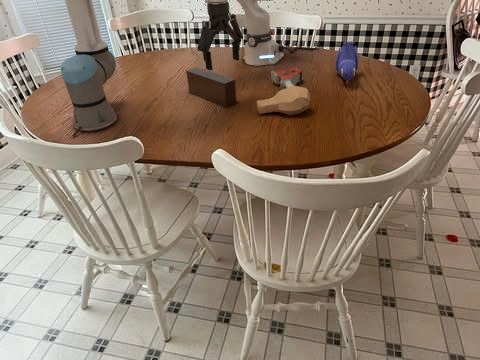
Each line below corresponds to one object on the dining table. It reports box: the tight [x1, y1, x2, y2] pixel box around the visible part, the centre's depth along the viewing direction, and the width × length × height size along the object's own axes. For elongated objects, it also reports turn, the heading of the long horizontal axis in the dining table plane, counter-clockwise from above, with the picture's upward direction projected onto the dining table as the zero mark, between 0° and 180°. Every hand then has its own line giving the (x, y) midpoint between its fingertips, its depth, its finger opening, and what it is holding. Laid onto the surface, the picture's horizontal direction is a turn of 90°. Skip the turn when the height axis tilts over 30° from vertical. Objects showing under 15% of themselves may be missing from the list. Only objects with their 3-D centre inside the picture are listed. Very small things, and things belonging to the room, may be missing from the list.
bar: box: [185, 66, 237, 108], centre depth 144 cm, size 24×6×10 cm, turn 44°
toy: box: [334, 40, 360, 86], centre depth 151 cm, size 10×17×25 cm
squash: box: [255, 85, 312, 116], centre depth 130 cm, size 11×20×9 cm, turn 92°
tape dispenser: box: [270, 67, 303, 90], centre depth 150 cm, size 18×5×20 cm
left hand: (223, 64), depth 133 cm, fingers open, 13 cm apart
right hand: (216, 1), depth 143 cm, fingers open, 8 cm apart
